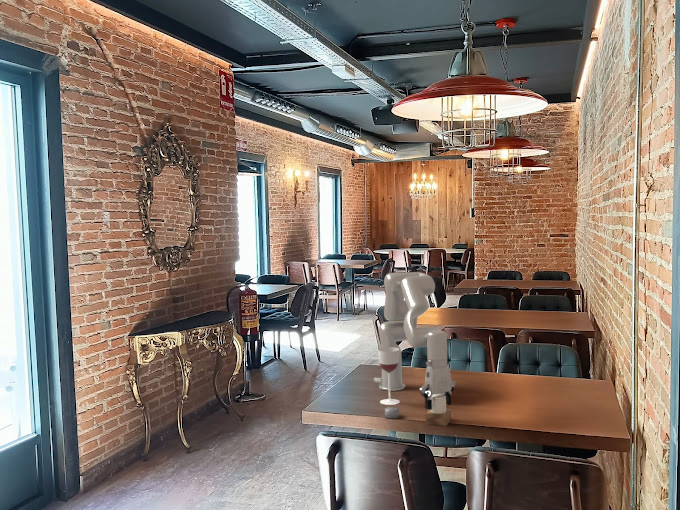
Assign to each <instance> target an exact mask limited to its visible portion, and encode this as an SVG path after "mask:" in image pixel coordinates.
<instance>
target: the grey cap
mask: <svg viewBox="0 0 680 510" xmlns="http://www.w3.org/2000/svg"><path fill="white" fill-rule="evenodd" d="M399 413H400V408H398V407H393V406H390V407H385V408H384V417H385V418H387V419H398V418H399V417H400V414H399Z"/></svg>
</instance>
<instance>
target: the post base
mask: <svg viewBox="0 0 680 510" xmlns="http://www.w3.org/2000/svg"><path fill="white" fill-rule="evenodd" d="M450 421H452V410H451V408H446V412H445V413H442V414H435V413H432V412H430V410H429V409H427V411H426V412H425V424H426V425H433V426H434V425H436V426H448V425H449V423H450Z"/></svg>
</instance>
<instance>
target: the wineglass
mask: <svg viewBox="0 0 680 510" xmlns="http://www.w3.org/2000/svg"><path fill="white" fill-rule="evenodd" d="M377 355H378V356H377V358H378V363H379V365H380V368H381V370H382V369H383V370H385V371H386V372H388V390H389V391H388V398H386V399H382V400H380V401H379V403H380V404H381V405H387V406H392V405H397V404H399V403H401V402H400V400H398V399H395V398H391V397H392V396H391V394H392V393H391V392H392V391H391V390H390V372H391V371H393V370H394V369H396V367H397V366H398V362H399V349H398V348H395V347H384V348H381V347H379V348H378V349H377Z"/></svg>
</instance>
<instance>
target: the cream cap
mask: <svg viewBox="0 0 680 510" xmlns="http://www.w3.org/2000/svg"><path fill="white" fill-rule="evenodd" d="M431 400H432V410H430V412H432V413H435V414H442V413H445V412H446V409H447V404H446V396H445V395H443V394H433V395H432V397H431Z"/></svg>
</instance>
